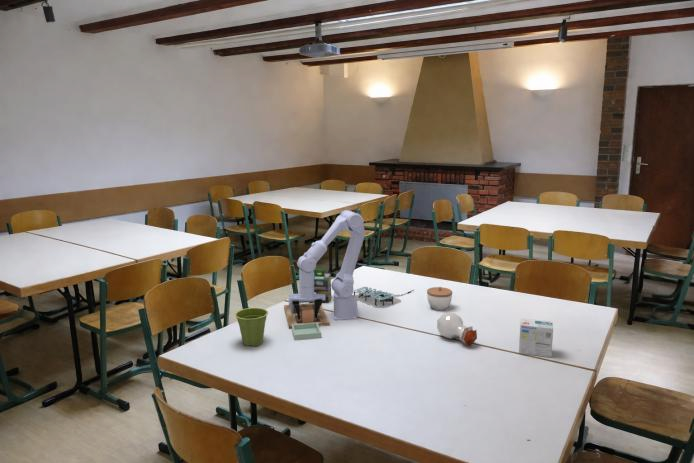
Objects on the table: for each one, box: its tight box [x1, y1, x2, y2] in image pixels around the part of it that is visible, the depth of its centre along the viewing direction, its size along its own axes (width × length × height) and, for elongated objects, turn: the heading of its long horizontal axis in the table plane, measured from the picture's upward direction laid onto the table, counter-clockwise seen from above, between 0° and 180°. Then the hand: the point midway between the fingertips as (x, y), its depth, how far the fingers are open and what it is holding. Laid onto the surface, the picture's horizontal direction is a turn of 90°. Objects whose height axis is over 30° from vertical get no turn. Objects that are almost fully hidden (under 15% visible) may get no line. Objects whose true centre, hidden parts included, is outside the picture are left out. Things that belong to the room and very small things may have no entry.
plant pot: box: [234, 307, 269, 347], centre depth 181 cm, size 12×12×11 cm
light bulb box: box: [518, 317, 554, 358], centre depth 172 cm, size 11×7×11 cm, turn 71°
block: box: [301, 306, 314, 323], centre depth 200 cm, size 4×4×6 cm
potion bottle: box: [436, 312, 478, 347], centre depth 183 cm, size 10×10×15 cm
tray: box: [291, 323, 322, 341], centre depth 189 cm, size 10×10×2 cm
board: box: [283, 302, 330, 330], centre depth 206 cm, size 16×24×2 cm
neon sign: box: [353, 286, 414, 309], centre depth 232 cm, size 21×4×29 cm
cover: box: [288, 292, 320, 314], centre depth 210 cm, size 12×10×8 cm
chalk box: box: [308, 268, 332, 304], centre depth 225 cm, size 9×9×15 cm
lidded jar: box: [426, 286, 453, 311], centre depth 215 cm, size 11×11×9 cm
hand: (307, 317), depth 201 cm, fingers open, 6 cm apart
